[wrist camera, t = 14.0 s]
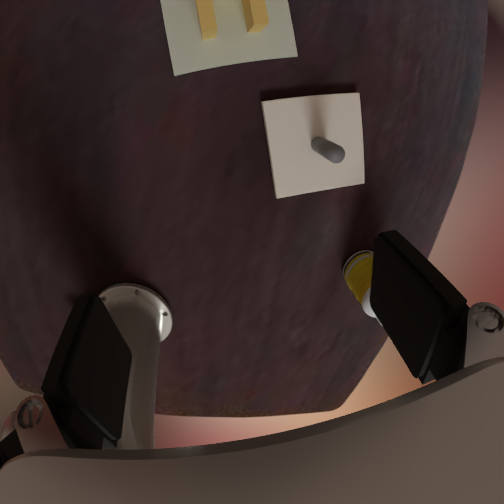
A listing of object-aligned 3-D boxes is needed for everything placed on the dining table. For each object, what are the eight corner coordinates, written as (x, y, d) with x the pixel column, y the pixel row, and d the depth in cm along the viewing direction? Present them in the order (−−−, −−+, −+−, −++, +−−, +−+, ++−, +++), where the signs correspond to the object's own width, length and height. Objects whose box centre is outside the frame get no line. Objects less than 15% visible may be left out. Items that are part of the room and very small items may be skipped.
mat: (174, 76, 29) (174, 75, 29) (156, -26, 22) (156, -27, 22) (296, 56, 30) (297, 56, 30) (277, -42, 23) (277, -43, 22)
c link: (193, -8, 24) (192, -22, 20) (251, -16, 24) (258, -31, 20) (202, 40, 27) (201, 32, 23) (260, 31, 28) (269, 23, 23)
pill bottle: (333, 270, 46) (364, 321, 36) (364, 240, 44) (403, 286, 34) (355, 289, 48) (386, 338, 39) (384, 263, 47) (421, 308, 37)
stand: (275, 195, 38) (287, 216, 33) (261, 101, 32) (272, 104, 27) (361, 181, 39) (385, 198, 33) (355, 92, 33) (382, 95, 27)
